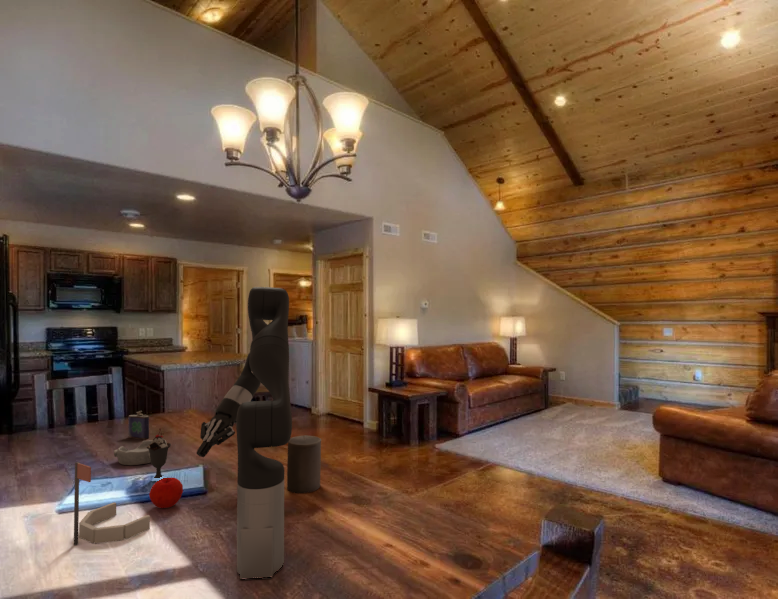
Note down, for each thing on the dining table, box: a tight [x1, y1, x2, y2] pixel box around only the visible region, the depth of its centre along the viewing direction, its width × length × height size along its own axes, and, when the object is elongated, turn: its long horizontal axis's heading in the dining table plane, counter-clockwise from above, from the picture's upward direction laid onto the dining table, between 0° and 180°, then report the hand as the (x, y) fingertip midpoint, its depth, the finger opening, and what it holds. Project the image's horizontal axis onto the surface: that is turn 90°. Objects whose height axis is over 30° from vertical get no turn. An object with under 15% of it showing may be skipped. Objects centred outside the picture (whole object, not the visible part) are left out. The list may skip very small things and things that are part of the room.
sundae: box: [147, 427, 172, 478], centre depth 136 cm, size 7×7×15 cm
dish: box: [113, 439, 153, 466], centre depth 154 cm, size 14×14×5 cm
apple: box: [148, 477, 184, 509], centre depth 117 cm, size 8×8×7 cm
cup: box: [73, 461, 151, 546], centre depth 104 cm, size 13×15×18 cm
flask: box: [127, 410, 150, 440], centre depth 180 cm, size 9×3×11 cm, turn 76°
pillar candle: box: [286, 434, 322, 494], centre depth 131 cm, size 10×10×15 cm
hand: (199, 455), depth 126 cm, fingers closed
